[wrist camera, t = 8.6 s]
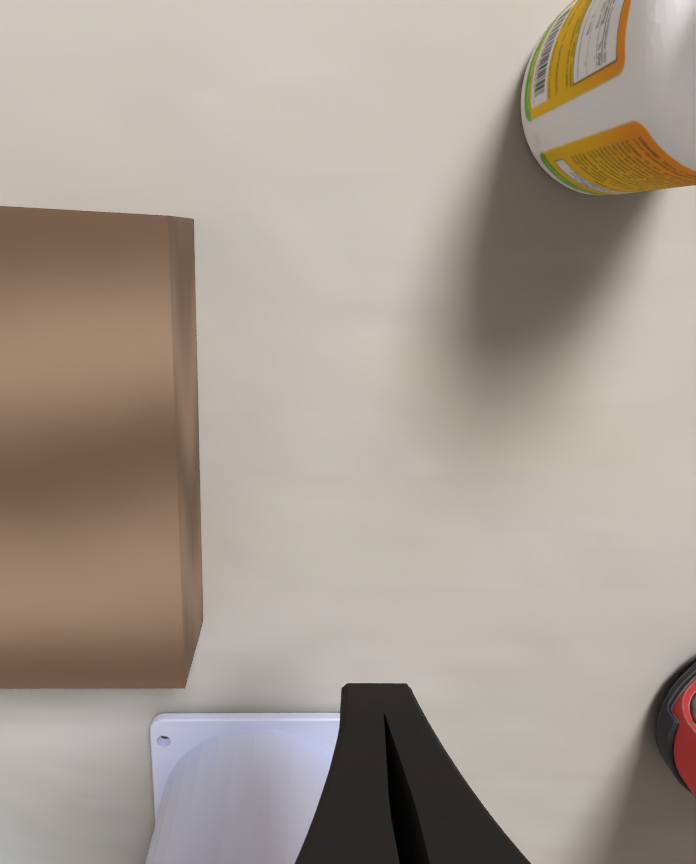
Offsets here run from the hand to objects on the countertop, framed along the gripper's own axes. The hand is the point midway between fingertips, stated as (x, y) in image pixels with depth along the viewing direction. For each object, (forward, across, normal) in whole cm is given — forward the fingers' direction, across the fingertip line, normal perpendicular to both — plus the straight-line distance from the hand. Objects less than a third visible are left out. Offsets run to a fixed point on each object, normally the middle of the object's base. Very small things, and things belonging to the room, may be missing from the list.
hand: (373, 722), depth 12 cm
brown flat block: (+9, +10, -3) cm, 14 cm away
